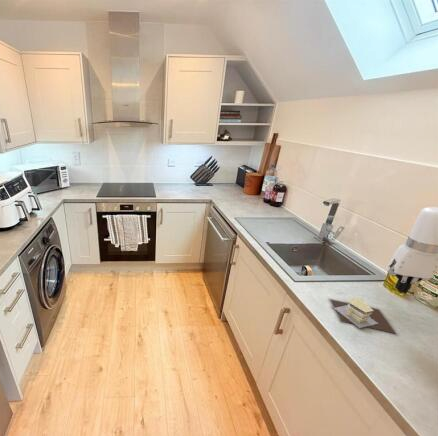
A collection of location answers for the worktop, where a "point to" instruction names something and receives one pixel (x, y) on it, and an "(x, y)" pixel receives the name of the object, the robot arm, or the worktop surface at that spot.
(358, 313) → the stacked layers on plate
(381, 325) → the spill
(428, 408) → the worktop surface
